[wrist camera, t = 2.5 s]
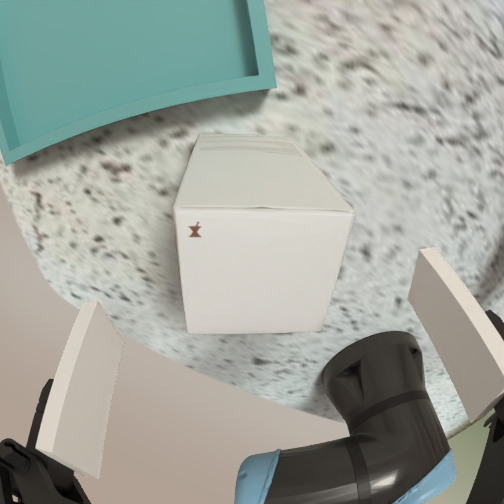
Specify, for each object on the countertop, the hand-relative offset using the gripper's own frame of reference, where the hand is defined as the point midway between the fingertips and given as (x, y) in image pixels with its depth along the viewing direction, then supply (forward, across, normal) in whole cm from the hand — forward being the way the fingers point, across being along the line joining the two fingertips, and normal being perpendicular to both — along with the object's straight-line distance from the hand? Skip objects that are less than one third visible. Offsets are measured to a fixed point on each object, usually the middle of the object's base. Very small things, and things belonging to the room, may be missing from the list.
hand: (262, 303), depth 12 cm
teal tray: (+14, +8, -18) cm, 24 cm away
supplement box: (+14, 0, +1) cm, 15 cm away
